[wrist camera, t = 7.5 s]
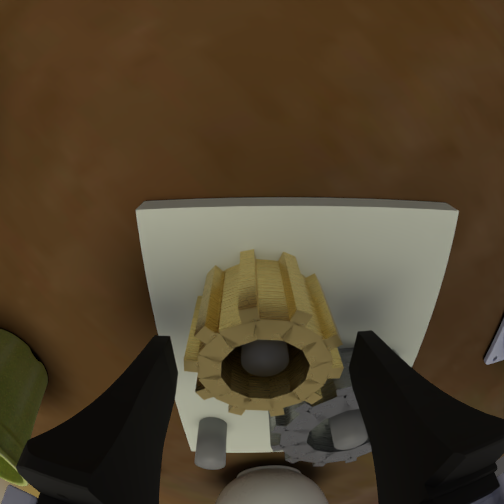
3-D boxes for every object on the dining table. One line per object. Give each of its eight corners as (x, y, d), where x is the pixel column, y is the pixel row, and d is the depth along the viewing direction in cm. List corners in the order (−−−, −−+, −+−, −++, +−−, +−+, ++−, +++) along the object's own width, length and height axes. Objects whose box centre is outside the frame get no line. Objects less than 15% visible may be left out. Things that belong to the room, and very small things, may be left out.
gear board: (445, 202, 13) (507, 243, 9) (373, 428, 21) (387, 477, 17) (144, 201, 13) (99, 247, 9) (192, 438, 21) (186, 491, 16)
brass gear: (334, 256, 13) (364, 312, 9) (309, 353, 15) (322, 416, 12) (199, 244, 13) (181, 300, 9) (197, 346, 15) (186, 410, 11)
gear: (419, 333, 15) (442, 370, 12) (382, 420, 19) (393, 453, 16) (270, 345, 15) (274, 392, 12) (266, 432, 19) (268, 470, 16)
